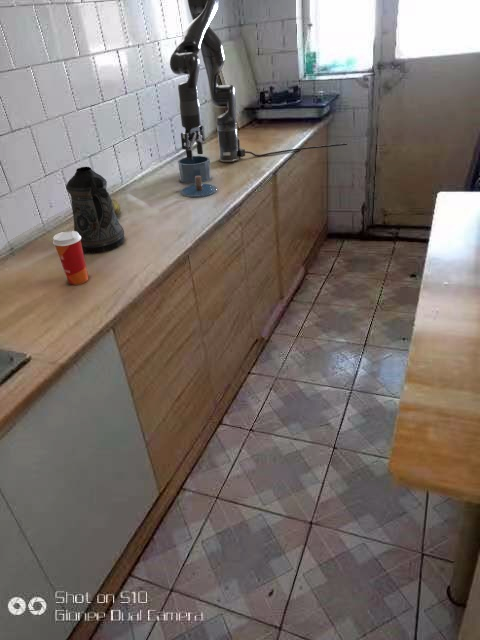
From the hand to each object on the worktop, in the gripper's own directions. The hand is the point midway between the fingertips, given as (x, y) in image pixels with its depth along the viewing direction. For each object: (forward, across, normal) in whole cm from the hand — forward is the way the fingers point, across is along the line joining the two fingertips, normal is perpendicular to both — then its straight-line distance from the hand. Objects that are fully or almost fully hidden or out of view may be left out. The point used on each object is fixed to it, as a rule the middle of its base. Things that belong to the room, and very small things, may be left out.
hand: (195, 156), depth 188 cm
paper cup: (+15, -77, -1) cm, 78 cm away
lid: (+14, 0, 0) cm, 14 cm away
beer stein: (+15, -53, +8) cm, 56 cm away
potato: (+15, -32, +20) cm, 41 cm away
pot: (+14, +15, +10) cm, 23 cm away
